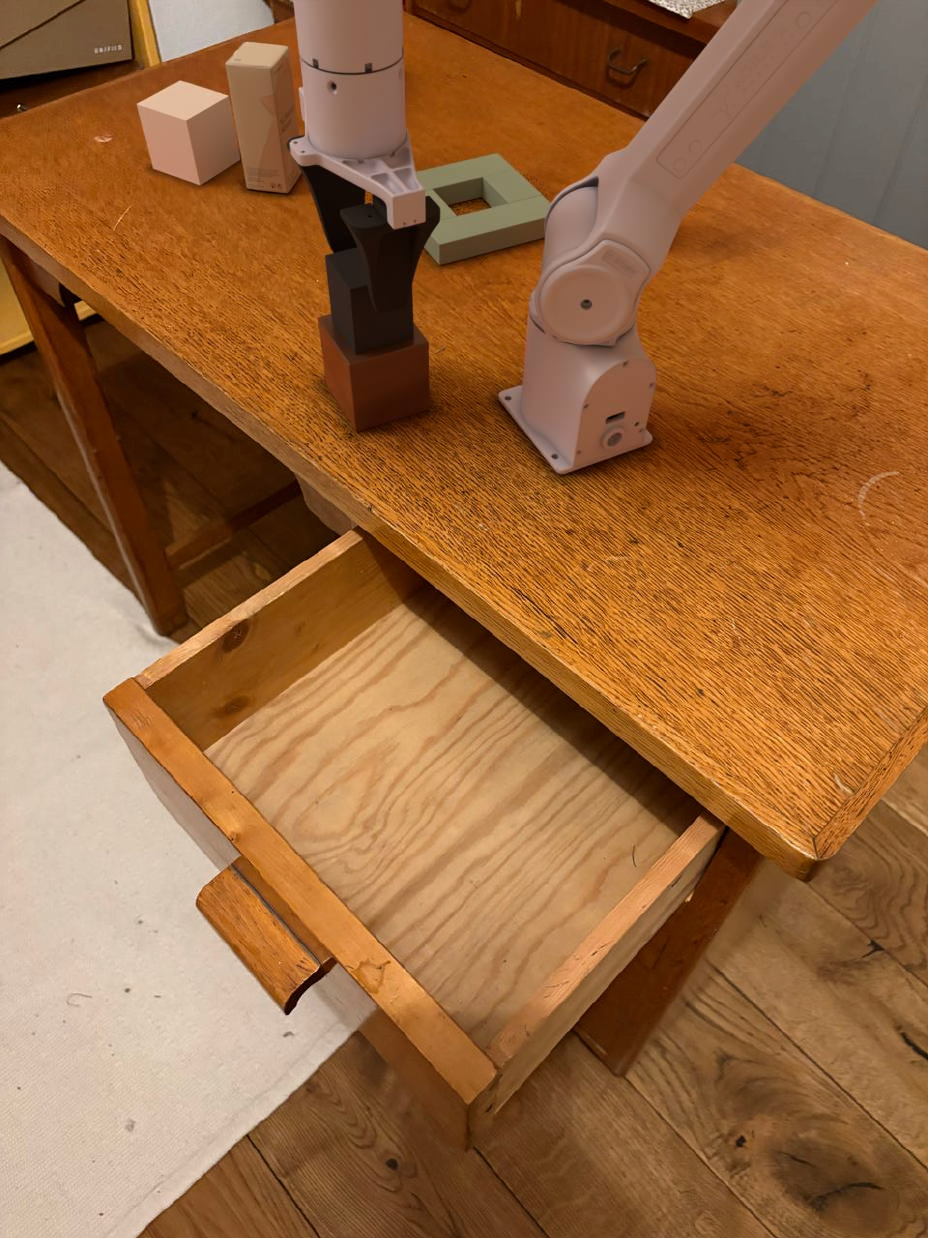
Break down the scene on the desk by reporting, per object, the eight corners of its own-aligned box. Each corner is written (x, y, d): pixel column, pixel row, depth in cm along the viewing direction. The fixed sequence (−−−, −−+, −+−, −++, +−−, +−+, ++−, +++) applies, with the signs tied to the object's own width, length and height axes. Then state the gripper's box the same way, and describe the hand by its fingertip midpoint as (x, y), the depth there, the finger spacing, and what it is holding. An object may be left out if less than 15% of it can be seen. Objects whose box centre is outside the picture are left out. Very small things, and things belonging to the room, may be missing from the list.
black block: (414, 338, 63) (412, 273, 59) (355, 354, 62) (349, 289, 58) (388, 304, 66) (385, 239, 62) (331, 319, 64) (324, 254, 60)
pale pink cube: (240, 159, 90) (229, 95, 85) (200, 185, 87) (186, 120, 82) (193, 143, 92) (180, 79, 87) (152, 168, 89) (136, 103, 84)
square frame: (559, 233, 83) (561, 212, 81) (439, 265, 79) (439, 244, 78) (496, 172, 89) (498, 152, 88) (383, 199, 86) (382, 178, 84)
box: (288, 195, 86) (270, 68, 77) (245, 189, 86) (222, 63, 78) (305, 168, 89) (289, 43, 80) (263, 163, 90) (243, 38, 81)
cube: (430, 409, 68) (429, 341, 63) (355, 432, 66) (349, 364, 61) (397, 363, 71) (394, 295, 66) (325, 384, 69) (317, 316, 64)
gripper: (239, 14, 52) (273, 235, 63) (333, 122, 45) (353, 353, 55) (352, -4, 54) (366, 213, 65) (460, 96, 47) (456, 324, 57)
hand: (367, 276), depth 60 cm, fingers open, 7 cm apart
